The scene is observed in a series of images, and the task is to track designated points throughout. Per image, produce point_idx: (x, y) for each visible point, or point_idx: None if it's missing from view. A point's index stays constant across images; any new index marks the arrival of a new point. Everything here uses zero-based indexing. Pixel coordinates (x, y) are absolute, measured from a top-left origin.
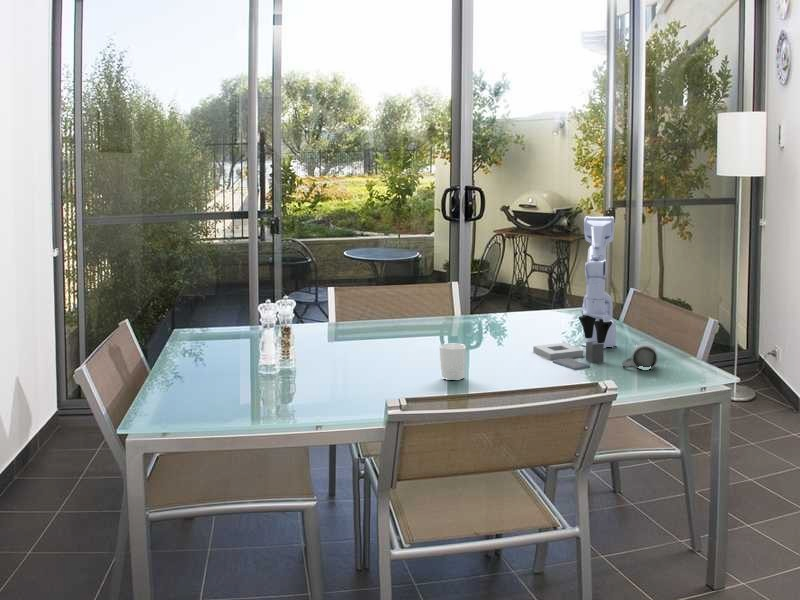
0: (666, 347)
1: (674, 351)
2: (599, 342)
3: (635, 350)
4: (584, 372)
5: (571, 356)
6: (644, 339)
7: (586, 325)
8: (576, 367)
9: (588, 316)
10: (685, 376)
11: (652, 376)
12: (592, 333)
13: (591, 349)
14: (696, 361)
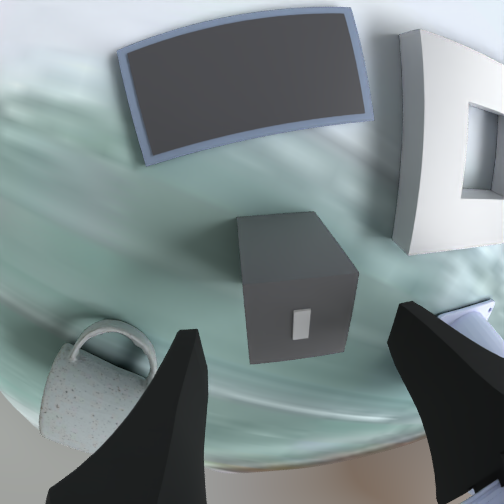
0: (324, 454)
1: (281, 459)
2: (178, 339)
3: (42, 399)
4: (56, 97)
5: (403, 168)
6: (408, 430)
7: (461, 391)
8: (123, 66)
9: (489, 475)
10: (28, 391)
11: (9, 335)
12: (400, 371)
13: (255, 258)
14: None
